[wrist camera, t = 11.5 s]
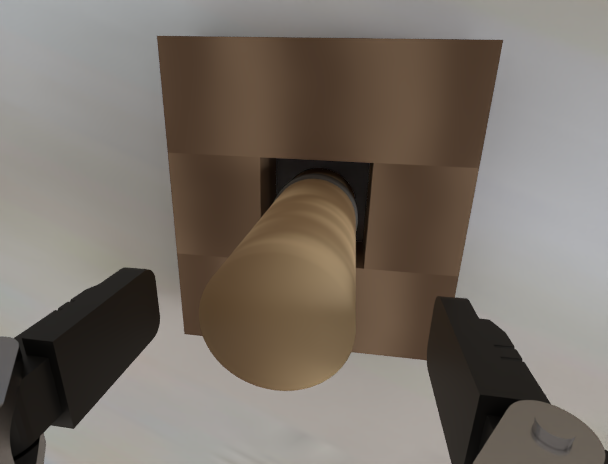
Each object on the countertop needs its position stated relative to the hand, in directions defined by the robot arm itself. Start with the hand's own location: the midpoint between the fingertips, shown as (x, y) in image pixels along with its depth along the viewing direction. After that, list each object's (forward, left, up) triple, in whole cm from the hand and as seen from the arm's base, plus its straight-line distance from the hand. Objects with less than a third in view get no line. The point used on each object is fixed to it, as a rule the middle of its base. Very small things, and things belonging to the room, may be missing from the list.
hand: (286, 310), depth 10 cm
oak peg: (0, 0, -13) cm, 13 cm away
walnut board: (0, 0, -13) cm, 13 cm away
